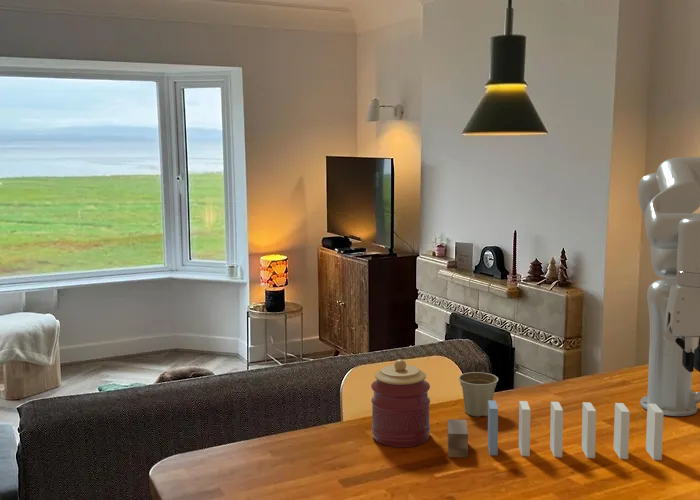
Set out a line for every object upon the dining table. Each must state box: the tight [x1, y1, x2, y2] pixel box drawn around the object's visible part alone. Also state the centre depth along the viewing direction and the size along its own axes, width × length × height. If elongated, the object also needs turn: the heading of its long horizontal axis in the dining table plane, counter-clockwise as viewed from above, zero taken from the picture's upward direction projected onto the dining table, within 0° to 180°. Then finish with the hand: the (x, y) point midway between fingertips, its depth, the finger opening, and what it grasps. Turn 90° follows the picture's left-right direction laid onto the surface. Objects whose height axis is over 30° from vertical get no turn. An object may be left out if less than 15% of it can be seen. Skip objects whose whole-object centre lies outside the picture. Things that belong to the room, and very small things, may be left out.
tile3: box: [581, 401, 597, 459], centre depth 142 cm, size 2×5×10 cm, turn 173°
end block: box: [447, 418, 469, 458], centre depth 146 cm, size 4×8×5 cm, turn 173°
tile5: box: [518, 400, 531, 457], centre depth 144 cm, size 2×5×10 cm, turn 173°
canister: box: [370, 358, 431, 448], centre depth 152 cm, size 13×13×18 cm
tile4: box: [549, 401, 564, 458], centre depth 143 cm, size 2×5×10 cm, turn 174°
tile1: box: [645, 404, 665, 461], centre depth 141 cm, size 2×5×10 cm, turn 173°
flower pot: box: [458, 371, 499, 417], centre depth 167 cm, size 9×9×9 cm
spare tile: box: [487, 400, 499, 456], centre depth 145 cm, size 2×5×10 cm, turn 173°
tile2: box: [613, 402, 631, 460], centre depth 142 cm, size 2×5×10 cm, turn 174°
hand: (693, 369), depth 138 cm, fingers closed
